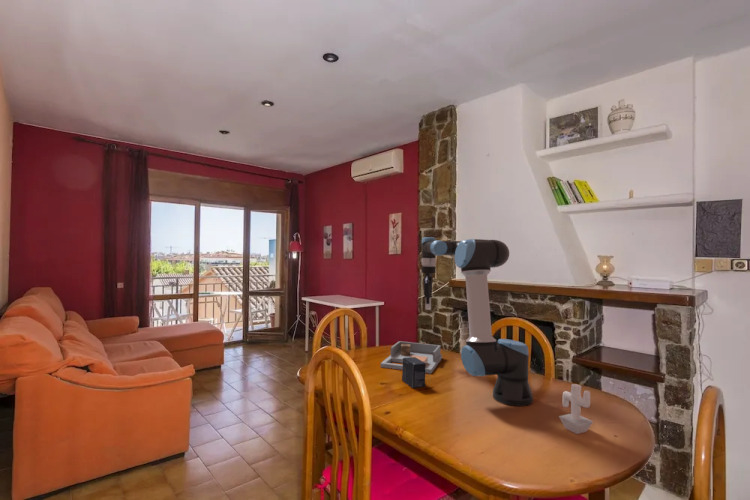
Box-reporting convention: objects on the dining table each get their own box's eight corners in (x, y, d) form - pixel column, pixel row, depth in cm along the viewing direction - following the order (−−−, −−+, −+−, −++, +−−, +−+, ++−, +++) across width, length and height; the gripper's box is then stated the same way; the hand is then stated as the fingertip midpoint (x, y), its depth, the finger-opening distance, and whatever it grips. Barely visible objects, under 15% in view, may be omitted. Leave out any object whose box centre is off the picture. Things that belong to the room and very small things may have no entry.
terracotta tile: (427, 362, 189) (427, 357, 189) (423, 367, 181) (424, 361, 181) (412, 361, 192) (412, 355, 192) (408, 365, 184) (408, 359, 184)
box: (425, 386, 161) (426, 362, 161) (412, 388, 159) (412, 364, 159) (414, 378, 171) (414, 356, 171) (401, 380, 169) (401, 357, 169)
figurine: (570, 421, 129) (571, 378, 129) (596, 434, 120) (596, 388, 120) (555, 425, 126) (556, 381, 126) (580, 438, 117) (581, 391, 118)
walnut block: (410, 353, 207) (410, 344, 207) (410, 355, 202) (410, 346, 202) (401, 352, 207) (401, 343, 207) (400, 355, 202) (400, 346, 202)
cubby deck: (442, 358, 204) (442, 345, 204) (431, 373, 178) (431, 359, 178) (397, 353, 214) (397, 341, 214) (380, 367, 188) (380, 353, 188)
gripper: (424, 265, 207) (423, 307, 207) (419, 266, 195) (418, 310, 195) (437, 265, 205) (437, 308, 205) (433, 266, 193) (432, 311, 192)
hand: (428, 309), depth 200 cm, fingers closed
